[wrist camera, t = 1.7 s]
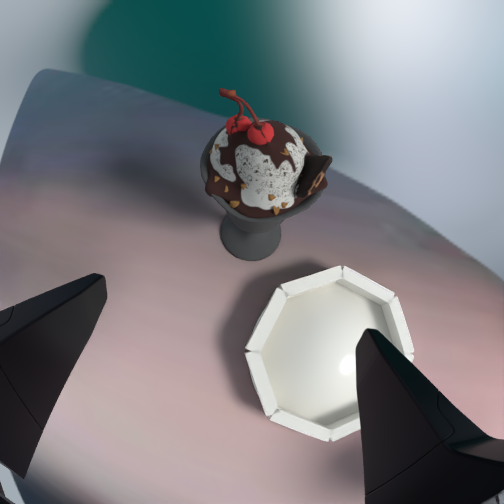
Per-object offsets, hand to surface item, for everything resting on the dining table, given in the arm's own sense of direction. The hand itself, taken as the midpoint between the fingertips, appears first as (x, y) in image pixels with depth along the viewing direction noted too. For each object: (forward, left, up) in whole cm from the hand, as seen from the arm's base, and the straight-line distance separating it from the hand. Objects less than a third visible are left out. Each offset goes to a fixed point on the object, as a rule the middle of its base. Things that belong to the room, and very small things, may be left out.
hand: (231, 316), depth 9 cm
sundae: (+4, +7, -14) cm, 16 cm away
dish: (+7, -4, -13) cm, 16 cm away
